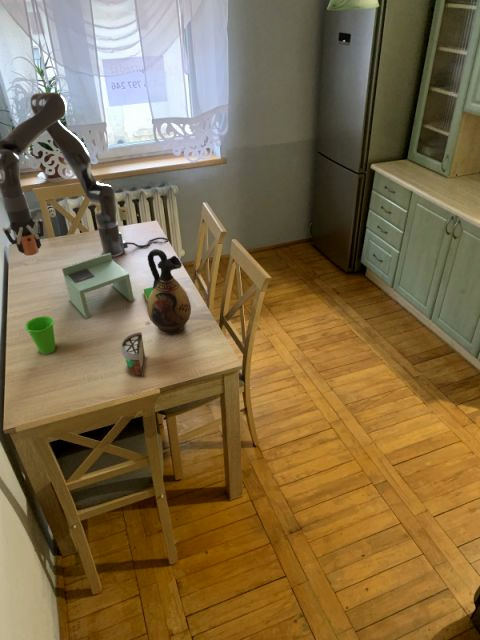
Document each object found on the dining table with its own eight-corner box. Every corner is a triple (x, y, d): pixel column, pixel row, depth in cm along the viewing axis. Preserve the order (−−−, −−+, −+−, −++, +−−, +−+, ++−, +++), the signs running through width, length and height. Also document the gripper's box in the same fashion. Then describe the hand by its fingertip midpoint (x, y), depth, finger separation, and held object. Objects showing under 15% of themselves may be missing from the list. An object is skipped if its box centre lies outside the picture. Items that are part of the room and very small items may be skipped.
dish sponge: (161, 290, 192) (160, 285, 190) (169, 306, 181) (169, 301, 180) (144, 294, 190) (143, 288, 188) (151, 311, 179) (151, 305, 178)
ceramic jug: (200, 320, 173) (193, 246, 156) (179, 343, 162) (169, 267, 145) (161, 310, 179) (151, 238, 162) (138, 332, 168) (124, 257, 151)
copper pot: (35, 246, 179) (29, 228, 175) (41, 253, 174) (36, 235, 170) (20, 250, 176) (14, 232, 172) (27, 258, 171) (21, 239, 167)
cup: (66, 344, 163) (59, 318, 157) (50, 360, 156) (41, 333, 150) (45, 339, 166) (37, 314, 159) (28, 355, 158) (18, 328, 152)
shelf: (116, 284, 197) (109, 252, 188) (133, 300, 186) (127, 266, 177) (70, 301, 187) (61, 268, 178) (86, 318, 176) (77, 284, 168)
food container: (127, 356, 156) (122, 332, 151) (145, 355, 157) (141, 331, 151) (122, 381, 146) (117, 356, 141) (142, 379, 147) (137, 354, 141)
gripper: (-2, 215, 159) (13, 259, 169) (40, 204, 166) (53, 247, 176) (-7, 209, 164) (8, 252, 174) (34, 199, 171) (46, 241, 181)
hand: (30, 249), depth 175 cm, fingers closed on copper pot, 5 cm apart
